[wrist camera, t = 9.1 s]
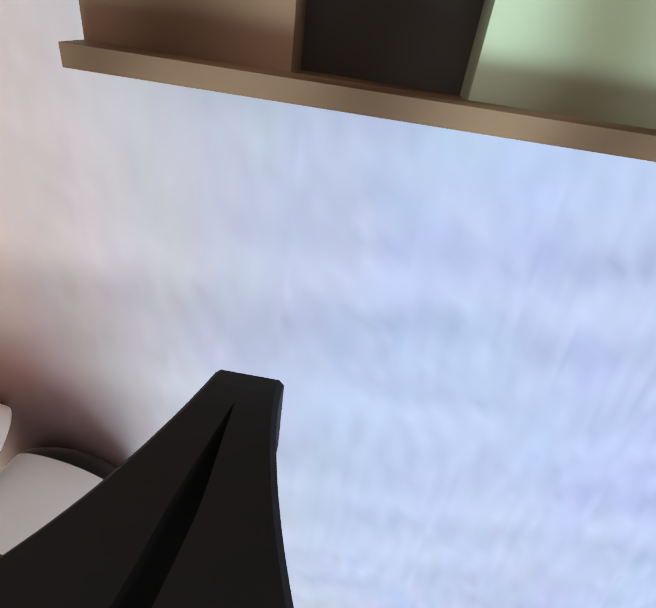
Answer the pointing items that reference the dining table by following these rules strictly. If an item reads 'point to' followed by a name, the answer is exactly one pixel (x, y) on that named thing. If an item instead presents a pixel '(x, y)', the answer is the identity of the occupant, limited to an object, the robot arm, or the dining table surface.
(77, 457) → the spread jar
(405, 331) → the dining table surface
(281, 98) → the brown shallow open box
